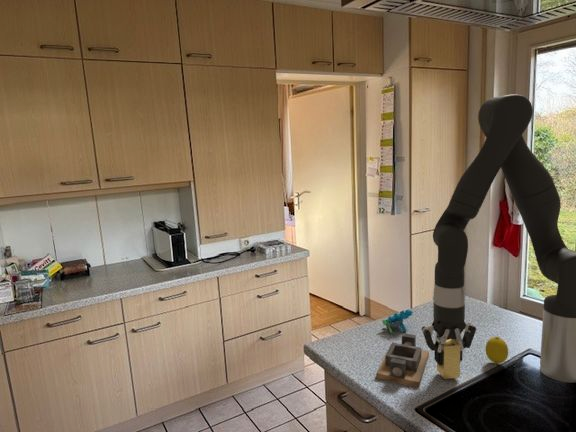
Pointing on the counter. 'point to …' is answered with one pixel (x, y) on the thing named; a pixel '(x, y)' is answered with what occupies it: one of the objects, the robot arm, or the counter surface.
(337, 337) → the counter surface
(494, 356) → the lemon
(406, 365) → the shaft rig
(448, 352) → the block
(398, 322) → the blue-green animal figure
